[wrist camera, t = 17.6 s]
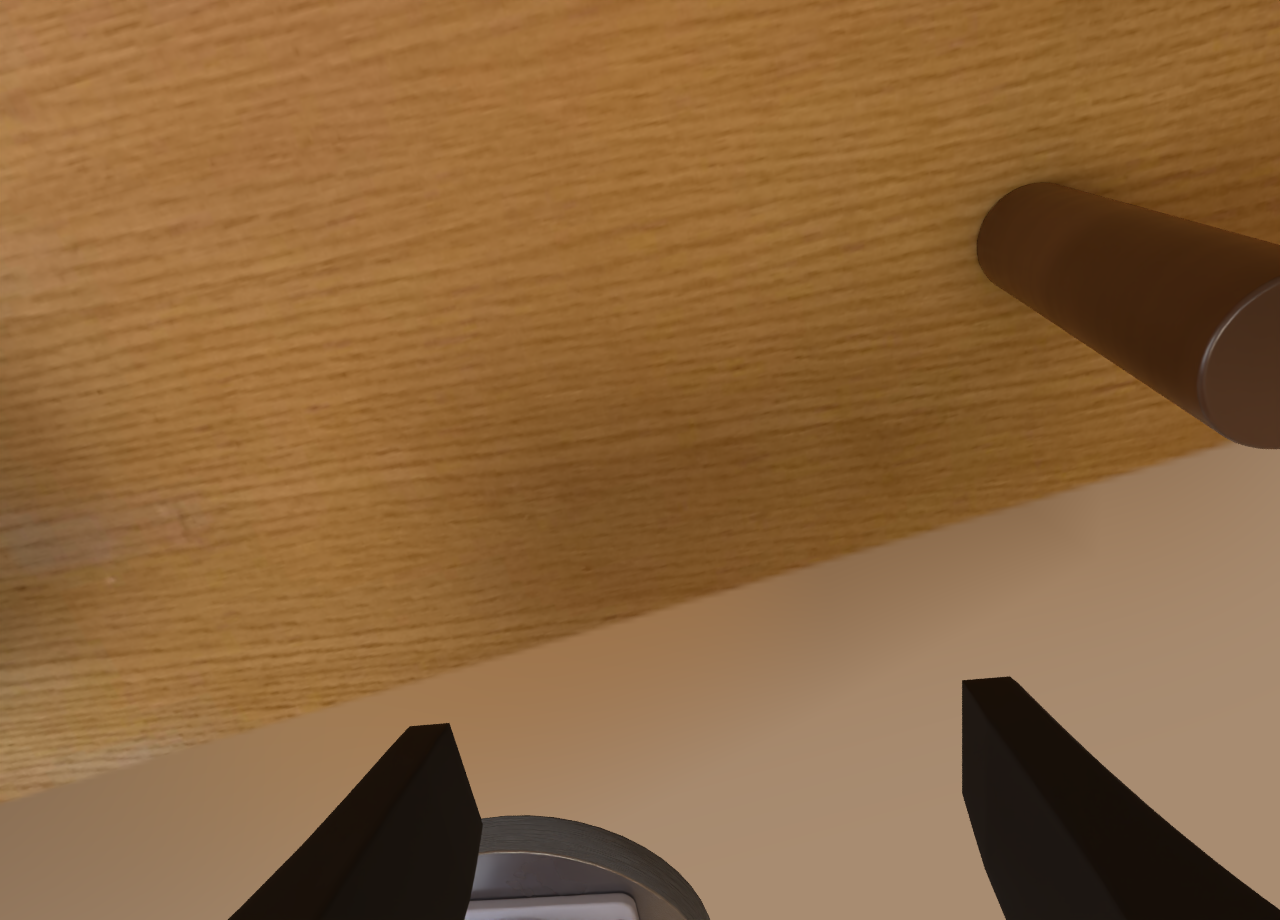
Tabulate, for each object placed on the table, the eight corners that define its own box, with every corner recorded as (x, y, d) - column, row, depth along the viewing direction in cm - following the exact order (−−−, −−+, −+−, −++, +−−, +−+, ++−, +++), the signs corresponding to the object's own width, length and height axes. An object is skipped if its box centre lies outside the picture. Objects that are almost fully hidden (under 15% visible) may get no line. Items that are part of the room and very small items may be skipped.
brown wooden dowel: (1084, 283, 19) (1390, 439, 10) (975, 298, 19) (1189, 462, 11) (1091, 173, 18) (1434, 250, 9) (976, 191, 18) (1211, 280, 10)
